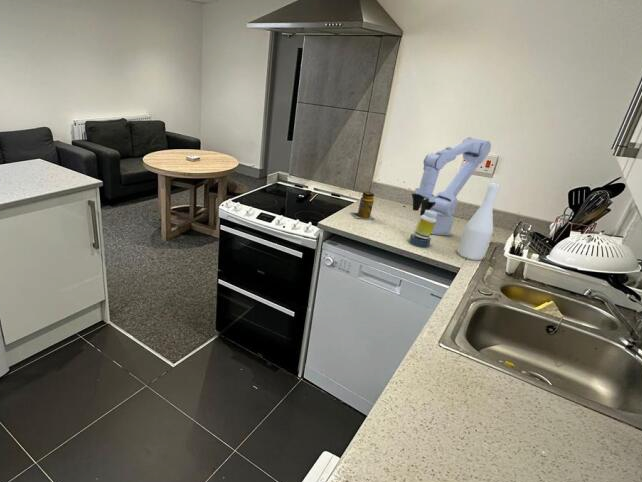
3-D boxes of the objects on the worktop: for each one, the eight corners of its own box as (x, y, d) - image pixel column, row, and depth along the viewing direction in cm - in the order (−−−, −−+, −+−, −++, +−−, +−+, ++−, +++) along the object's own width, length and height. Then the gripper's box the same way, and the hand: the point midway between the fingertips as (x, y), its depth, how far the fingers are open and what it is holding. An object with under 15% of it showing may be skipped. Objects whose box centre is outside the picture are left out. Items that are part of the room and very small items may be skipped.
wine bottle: (467, 261, 152) (493, 186, 140) (451, 250, 161) (474, 179, 149) (488, 260, 154) (515, 187, 142) (471, 250, 163) (495, 180, 151)
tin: (424, 240, 169) (425, 234, 168) (432, 248, 162) (434, 241, 161) (406, 239, 169) (408, 232, 168) (413, 246, 162) (415, 240, 160)
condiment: (373, 219, 190) (378, 195, 185) (356, 218, 188) (361, 194, 184) (366, 213, 196) (371, 190, 192) (350, 213, 195) (355, 190, 190)
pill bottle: (430, 240, 161) (442, 216, 157) (416, 237, 161) (427, 213, 156) (424, 234, 167) (435, 210, 162) (411, 231, 167) (421, 207, 162)
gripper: (411, 177, 171) (403, 206, 176) (426, 186, 158) (417, 217, 163) (427, 179, 171) (418, 208, 177) (443, 187, 158) (433, 219, 163)
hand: (419, 213), depth 170 cm, fingers open, 7 cm apart
